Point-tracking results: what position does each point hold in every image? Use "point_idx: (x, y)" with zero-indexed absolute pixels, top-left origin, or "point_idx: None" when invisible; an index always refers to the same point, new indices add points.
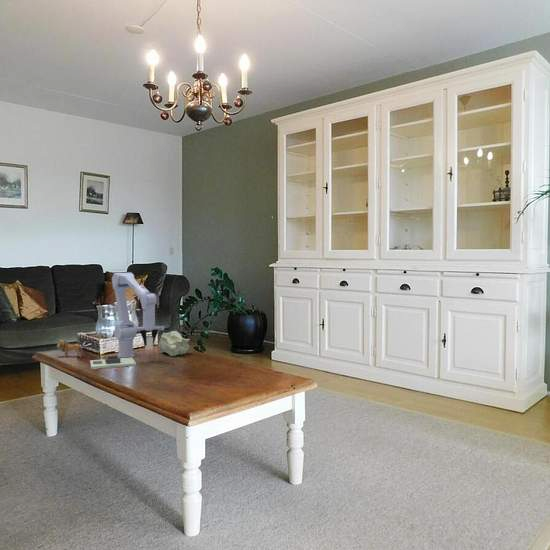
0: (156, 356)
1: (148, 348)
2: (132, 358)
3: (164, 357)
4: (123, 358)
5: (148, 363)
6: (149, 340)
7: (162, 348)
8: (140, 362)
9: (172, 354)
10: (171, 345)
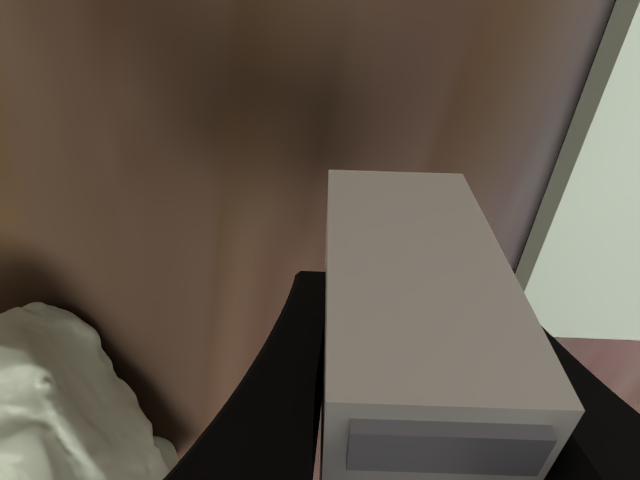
0: (239, 361)
1: (429, 184)
2: (529, 290)
3: (162, 302)
4: (612, 320)
5: (399, 57)
6: (445, 312)
7: (162, 457)
8: (473, 163)
9: (64, 321)
10: (18, 416)
